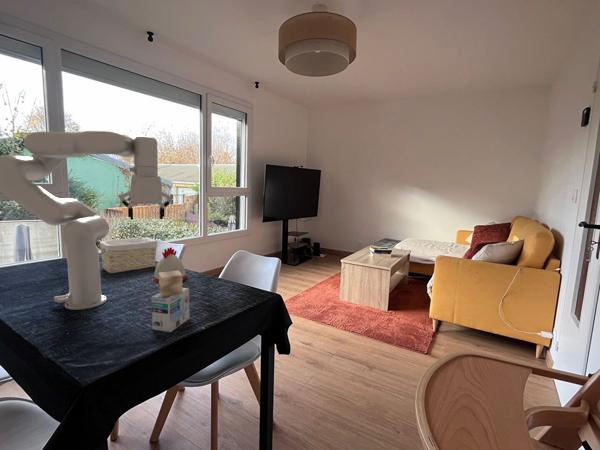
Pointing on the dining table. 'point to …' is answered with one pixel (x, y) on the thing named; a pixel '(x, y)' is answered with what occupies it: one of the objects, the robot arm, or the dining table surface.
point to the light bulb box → (170, 311)
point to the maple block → (170, 283)
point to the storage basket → (128, 254)
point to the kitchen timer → (169, 264)
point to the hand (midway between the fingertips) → (146, 219)
